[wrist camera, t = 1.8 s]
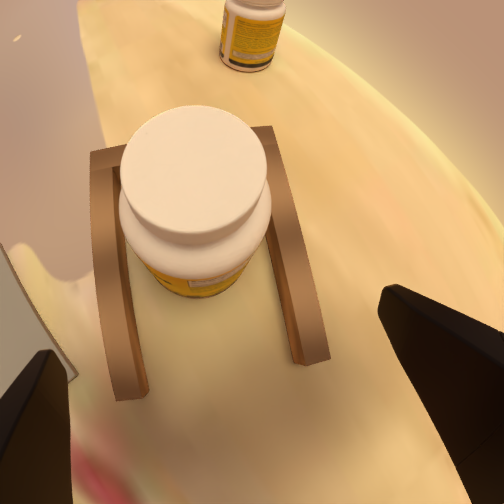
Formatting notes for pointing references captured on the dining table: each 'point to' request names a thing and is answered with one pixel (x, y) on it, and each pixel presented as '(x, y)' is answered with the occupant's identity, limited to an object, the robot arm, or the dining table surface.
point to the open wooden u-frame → (118, 286)
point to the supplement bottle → (250, 33)
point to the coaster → (21, 328)
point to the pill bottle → (194, 198)
